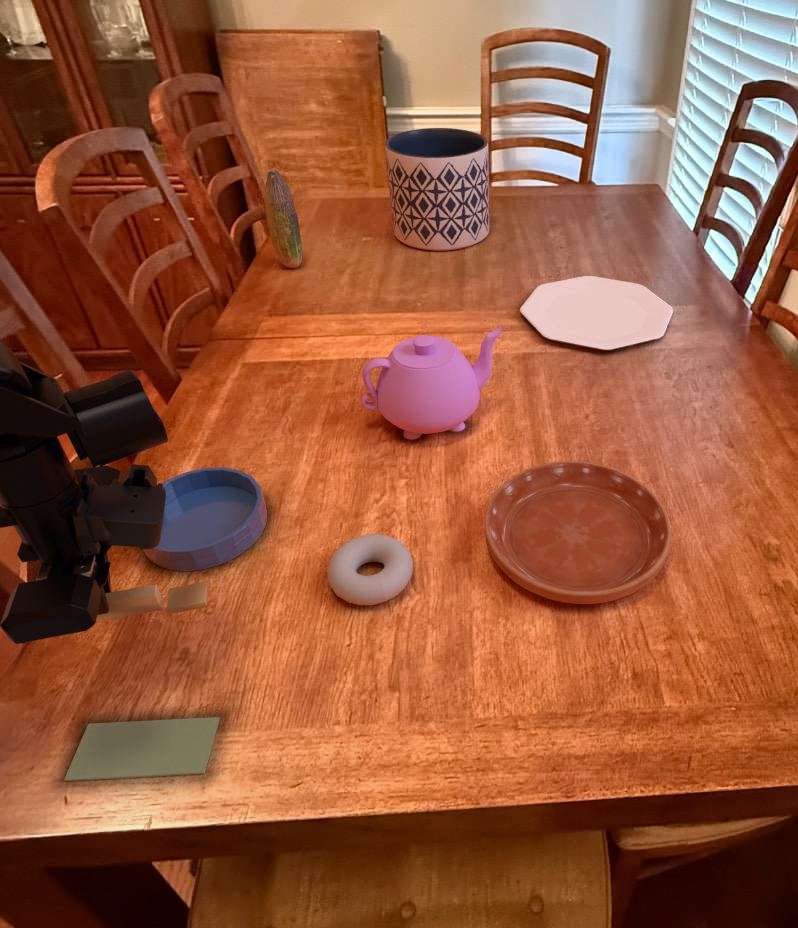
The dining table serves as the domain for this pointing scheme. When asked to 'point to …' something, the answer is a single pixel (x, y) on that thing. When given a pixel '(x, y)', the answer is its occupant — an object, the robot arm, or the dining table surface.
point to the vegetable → (282, 220)
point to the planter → (439, 187)
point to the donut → (373, 586)
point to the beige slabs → (154, 600)
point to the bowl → (208, 519)
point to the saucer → (577, 532)
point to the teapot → (428, 384)
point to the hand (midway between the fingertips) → (104, 605)
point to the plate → (597, 313)
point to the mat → (144, 749)
